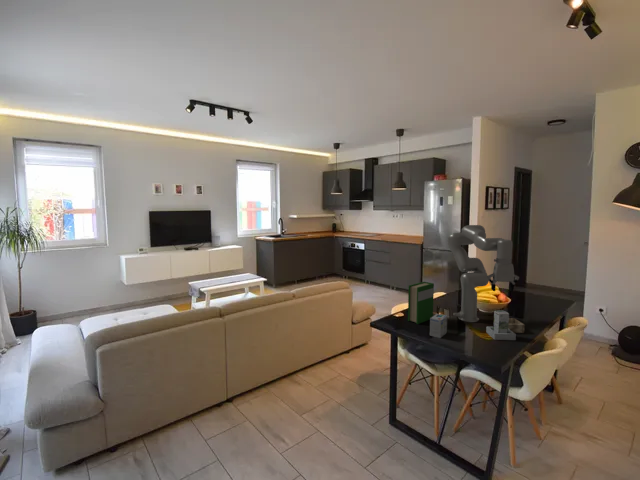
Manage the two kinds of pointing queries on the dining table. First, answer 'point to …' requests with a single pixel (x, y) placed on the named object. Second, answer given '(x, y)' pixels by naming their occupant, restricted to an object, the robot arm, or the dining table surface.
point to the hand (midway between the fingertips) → (502, 290)
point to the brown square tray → (516, 326)
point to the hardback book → (420, 302)
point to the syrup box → (501, 322)
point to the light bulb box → (438, 325)
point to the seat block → (501, 334)
